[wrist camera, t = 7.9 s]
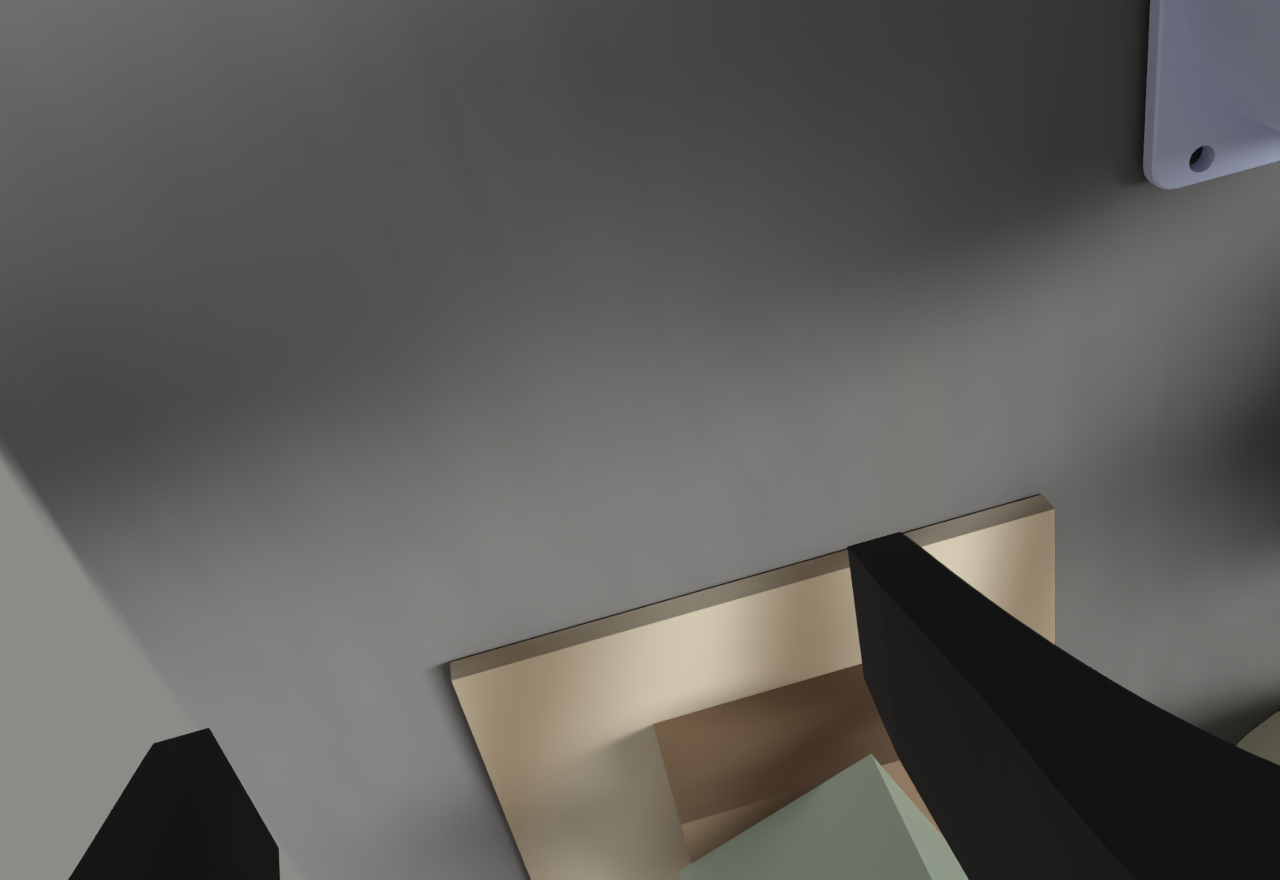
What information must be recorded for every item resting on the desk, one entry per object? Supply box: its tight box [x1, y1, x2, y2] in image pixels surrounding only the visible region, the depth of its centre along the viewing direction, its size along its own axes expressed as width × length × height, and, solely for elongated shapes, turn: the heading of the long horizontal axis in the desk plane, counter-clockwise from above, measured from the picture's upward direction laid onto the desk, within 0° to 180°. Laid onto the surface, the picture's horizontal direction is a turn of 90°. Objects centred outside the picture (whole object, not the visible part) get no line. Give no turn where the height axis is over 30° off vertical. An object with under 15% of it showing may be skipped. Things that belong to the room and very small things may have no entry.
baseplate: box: [450, 495, 1055, 880], centre depth 28 cm, size 14×12×4 cm
